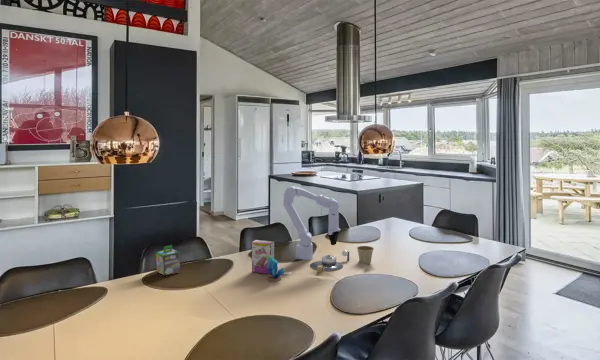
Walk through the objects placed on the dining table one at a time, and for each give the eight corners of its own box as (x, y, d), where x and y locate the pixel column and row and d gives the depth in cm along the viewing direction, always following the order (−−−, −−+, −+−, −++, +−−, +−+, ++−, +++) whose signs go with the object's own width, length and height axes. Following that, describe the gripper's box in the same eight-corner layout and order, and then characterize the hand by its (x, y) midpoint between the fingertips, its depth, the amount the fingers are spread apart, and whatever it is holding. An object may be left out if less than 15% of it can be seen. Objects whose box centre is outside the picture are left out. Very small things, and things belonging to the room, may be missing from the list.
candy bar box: (251, 272, 193) (250, 242, 191) (255, 269, 198) (255, 239, 196) (271, 274, 189) (270, 243, 188) (275, 271, 194) (274, 241, 192)
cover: (320, 264, 202) (319, 257, 201) (324, 260, 209) (324, 253, 209) (334, 266, 199) (334, 258, 198) (338, 261, 206) (338, 254, 206)
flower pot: (373, 266, 201) (373, 250, 200) (356, 265, 203) (356, 250, 202) (373, 261, 210) (373, 246, 209) (357, 260, 212) (357, 245, 211)
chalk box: (172, 268, 200) (171, 242, 198) (180, 273, 193) (179, 245, 192) (156, 273, 193) (154, 245, 192) (163, 277, 187) (162, 249, 185)
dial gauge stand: (342, 262, 208) (342, 250, 208) (343, 260, 212) (343, 248, 211) (350, 263, 206) (350, 251, 206) (352, 261, 210) (352, 249, 209)
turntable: (303, 271, 192) (302, 265, 191) (316, 259, 211) (316, 254, 210) (336, 276, 185) (336, 269, 185) (346, 263, 204) (346, 257, 204)
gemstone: (270, 283, 178) (270, 259, 177) (264, 277, 186) (264, 254, 185) (284, 280, 181) (284, 257, 180) (278, 275, 189) (278, 252, 187)
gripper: (336, 224, 201) (336, 248, 203) (343, 219, 215) (343, 241, 216) (324, 223, 204) (324, 247, 205) (332, 218, 217) (332, 240, 219)
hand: (333, 244), depth 211 cm, fingers closed
